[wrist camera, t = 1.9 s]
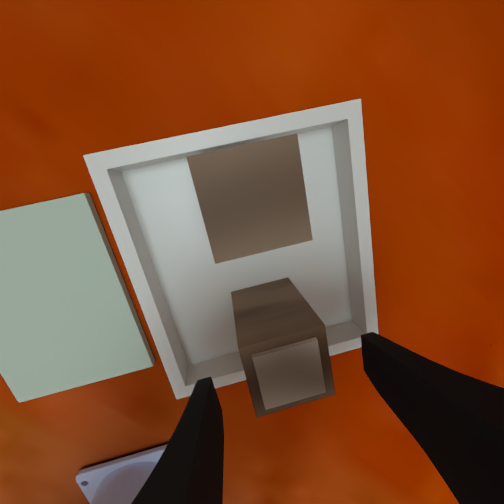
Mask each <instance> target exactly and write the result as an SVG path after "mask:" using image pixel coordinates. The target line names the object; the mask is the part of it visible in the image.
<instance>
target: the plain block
mask: <svg viewBox="0 0 504 504" xmlns="http://www.w3.org/2000/svg"><path fill="white" fill-rule="evenodd" d="M186 158H187V161H188V165H189V169H190V173H191V176H192V180H193V184H194V187H195V191H196V195H197V198H198V202H199V206H200V209H201V213H202V217H203V221H204V224H205V228H206V232H207V235H208V239H209V243H210V246H211V250H212V254H213V258H214V261H215V264H217V263H221V262H225V261H229V260H233V259H237V258H242V257H246V256H250V255H254V254H258V253H262V252H266V251H270V250H274V249H278V248H282V247H286V246H290V245H295V244H299V243H303V242H307V241H311V240H313V239H312V232H311V225H310V218H309V211H308V204H307V197H306V190H305V184H304V177H303V170H302V163H301V156H300V149H299V142H298V135H297V133H296V134H292V135H287V136H282V137H277V138H273V139H268V140H263V141H258V142H254V143H249V144H244V145H239V146H235V147H230V148H225V149H220V150H216V151H211V152H206V153H201V154H197V155H192V156H187V157H186Z"/></svg>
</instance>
